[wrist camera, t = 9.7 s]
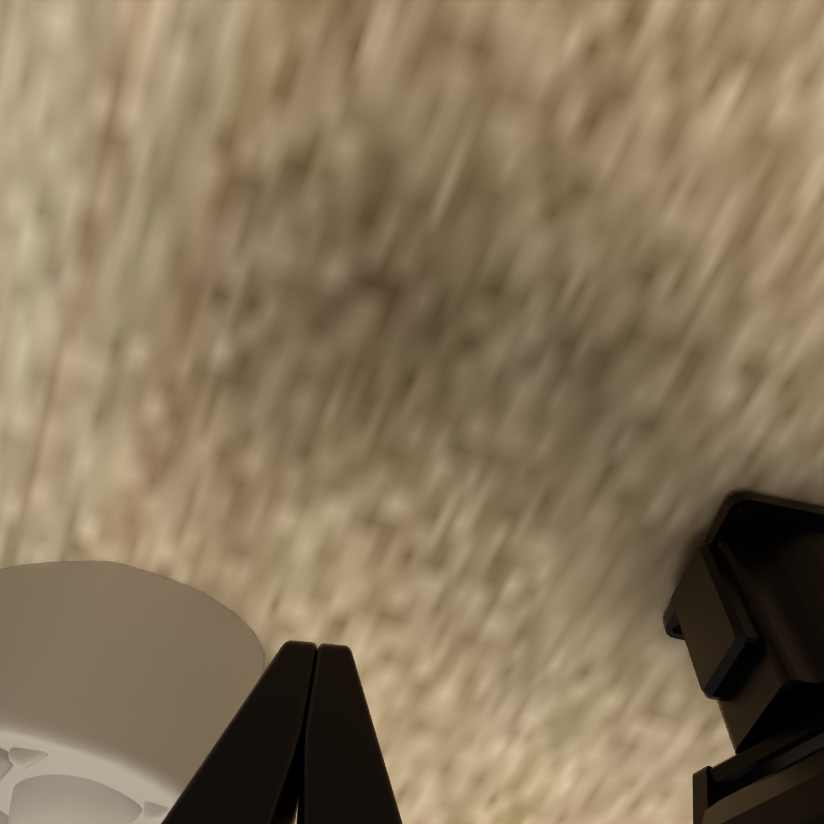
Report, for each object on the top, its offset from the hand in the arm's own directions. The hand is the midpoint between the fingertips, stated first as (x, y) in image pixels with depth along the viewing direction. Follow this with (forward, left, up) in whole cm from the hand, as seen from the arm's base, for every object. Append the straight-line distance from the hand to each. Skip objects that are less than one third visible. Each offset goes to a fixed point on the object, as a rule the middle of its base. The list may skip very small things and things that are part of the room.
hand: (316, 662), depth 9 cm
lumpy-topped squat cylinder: (+9, +18, -13) cm, 24 cm away
